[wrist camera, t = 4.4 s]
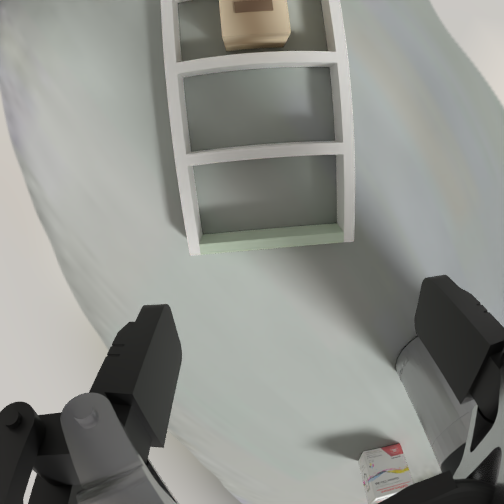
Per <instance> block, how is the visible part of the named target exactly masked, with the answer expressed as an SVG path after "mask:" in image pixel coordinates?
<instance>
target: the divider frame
mask: <svg viewBox="0 0 504 504" xmlns="http://www.w3.org/2000/svg"><path fill="white" fill-rule="evenodd" d="M186 1H191V0H161V20H162V38H163V52H164V65H165V77H166V88H167V98H168V108H169V117H170V125H171V134H172V142H173V150H174V157H175V165H176V172H177V179H178V186H179V192H180V199H181V205H182V212H183V218H184V224H185V230H186V236H187V241H188V247H189V252H190V256H193V255H204V254H216V253H227V252H239V251H250V250H262V249H273V248H285V247H296V246H308V245H320V244H331V243H343V242H354V227H355V149H354V125H353V108H352V94H351V82H350V72H349V62H348V53H347V45H346V37H345V30H344V23H343V17H342V11H341V5H340V0H321V5H322V11H323V18H324V25H325V32H326V40H327V48H328V51H276V52H257V53H244V54H233V55H224V56H215V57H208V58H201V59H194V60H188V61H182V57H181V44H180V30H179V15H178V3H180V2H186ZM281 67H330V76H331V87H332V99H333V113H334V129H335V141H308V142H288V143H272V144H259V145H247V146H236V147H227V148H218V149H209V150H201V151H194V152H191V145H190V137H189V128H188V119H187V110H186V100H185V90H184V79H183V78H184V77H190V76H197V75H203V74H211V73H219V72H227V71H237V70H248V69H262V68H281ZM309 155H336V182H337V223H333V224H320V225H307V226H294V227H282V228H270V229H258V230H247V231H236V232H225V233H214V234H204V235H203V233H202V226H201V219H200V213H199V206H198V199H197V191H196V184H195V177H194V169H193V166H195V165H203V164H211V163H220V162H229V161H239V160H250V159H262V158H275V157H290V156H309Z"/></svg>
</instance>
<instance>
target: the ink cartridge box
mask: <svg viewBox="0 0 504 504" xmlns="http://www.w3.org/2000/svg"><path fill="white" fill-rule="evenodd" d="M358 463H359V467H360V471H361V475H362V479H363V483H364V488H365V492H366V496H367V500H368V504H378V503H380V502H381V501H383V500H385V499H387V498H389V497H391V496H392V495H394V494H396V493H398V492H399V491H401V490H403V489H404V488H406V487H408V486H410V485H412V484H413V481H412V477H411V474H410V471H409V468H408V465H407V462H406V459H405V457H404V454H403V451H402V448H401V445H400V443H399V444H395V445H391V446H387V447H382V448H377V449H373V450H368V451H363V453H362V455H361V457H360V459H359V461H358Z"/></svg>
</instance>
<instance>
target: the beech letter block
mask: <svg viewBox="0 0 504 504" xmlns="http://www.w3.org/2000/svg"><path fill="white" fill-rule="evenodd" d="M219 7H220V18H221V29H222V38H223V41H224V44H225V48H226V51H234V50H245V49H258V48H277V47H284V45H285V43H286V41H287V39H288V37H289V35H290V34H291V29H290V21H289V14H288V6H287V0H219Z"/></svg>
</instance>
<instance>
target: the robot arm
mask: <svg viewBox="0 0 504 504" xmlns="http://www.w3.org/2000/svg"><path fill="white" fill-rule="evenodd" d="M415 329H416V333H417V335H418V337H416V338H415V339H414V340H412V341H411V342H410V343H409V344H408V345H407V346H406V347H405V348H404V349H403V351H402V352H401V353H400V355H399V357H398V359H397V362H396V371H397V373H398V375H399V377H400V380H401V382H402V383H403V385H404V387H405V389H406V392H407V394H408V396H409V398H410V400H411V402H412V404H413V406H414V409H415V411H416V413H417V415H418V417H419V420H420V422H421V424H422V426H423V428H424V431H425V433H426V435H427V438H428V440H429V442H430V445H431V447H432V449H433V451H434V454H435V456H436V459H437V461H438V464H439V466H440V468H441V471H442V473H441V474H439V475H437V476H434V477H431V478H429V479H426V480H424V481H421V482H418V483H415V484H412V485H410V486H408V487H406V488H404V489H403V490H401V491H399V492H398V493H396V494H394V495H392V496H391V497H389V498H387V499H385V500H383V501H381V502H380V503H378V504H504V327H503V326H502V325H501V324H500V323H499V322H498V321H497V320H496V319H495V318H494V317H493V316H492V315H491V314H490V313H489V312H487V309H486V308H485V307H484V306H483V305H480V302H479V301H478V300H477V299H476V298H475V297H474V296H473V295H472V294H470V293H468V292H467V291H465V290H463V289H461V288H459V287H458V286H457V285H456V284H455V283H454V282H453V281H452V280H451V279H450V278H449V277H448V276H447V275H441V276H434V277H428V278H425V279H424V280H423V282H422V286H421V291H420V296H419V301H418V306H417V310H416V315H415ZM107 355H108V356H107V357H106V358H105V360H104V362H103V364H102V366H101V368H100V370H99V372H98V374H97V377H96V379H95V381H94V383H93V385H92V388H91V390H90V392H89V393H84V394H81V395H78V396H77V397H74V398H73V399H71V400H70V401H69V402H68V403H67V404H66V405H65V407H64V408H63V410H62V412H61V413H54V414H45V415H37V413H36V412H35V411H34V410H33V408H32V407H31V406H30V405H29V404H27V403H25V402H15V403H12V404H10V405H8V406H6V407H5V408H4V409H3V410H2V411H1V412H0V504H23V497H24V493H25V490H26V487H27V484H28V481H29V477H30V474H31V472H32V469H33V470H34V471H35V472H36V473H37V476H36V479H35V483H34V485H33V489H32V492H31V495H30V499H29V503H28V504H179V503H178V502H177V500H176V499H175V497H174V496H173V495H172V493H171V492H170V490H169V489H168V487H167V486H166V485H165V483H164V482H163V480H162V478H161V477H160V475H159V474H158V472H157V471H156V469H155V468H154V466H153V465H152V463H151V461H150V460H149V459H148V455H149V450H150V447H164V443H165V438H166V433H167V428H168V423H169V418H170V413H171V408H172V403H173V399H174V394H175V389H176V384H177V380H178V375H179V371H180V366H181V361H182V350H181V344H180V340H179V337H178V333H177V330H176V326H175V323H174V319H173V316H172V312H171V309H170V307H169V305H168V304H161V305H144V306H143V307H142V309H141V311H140V313H139V315H138V317H137V319H136V321H135V322H129V323H128V324H127V325H125V326H124V327H123V328H122V329H121V330H120V331H119V332H118V334H117V336H116V337H115V339H114V341H113V343H112V347H110V350H109V352H108V354H107Z"/></svg>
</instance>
